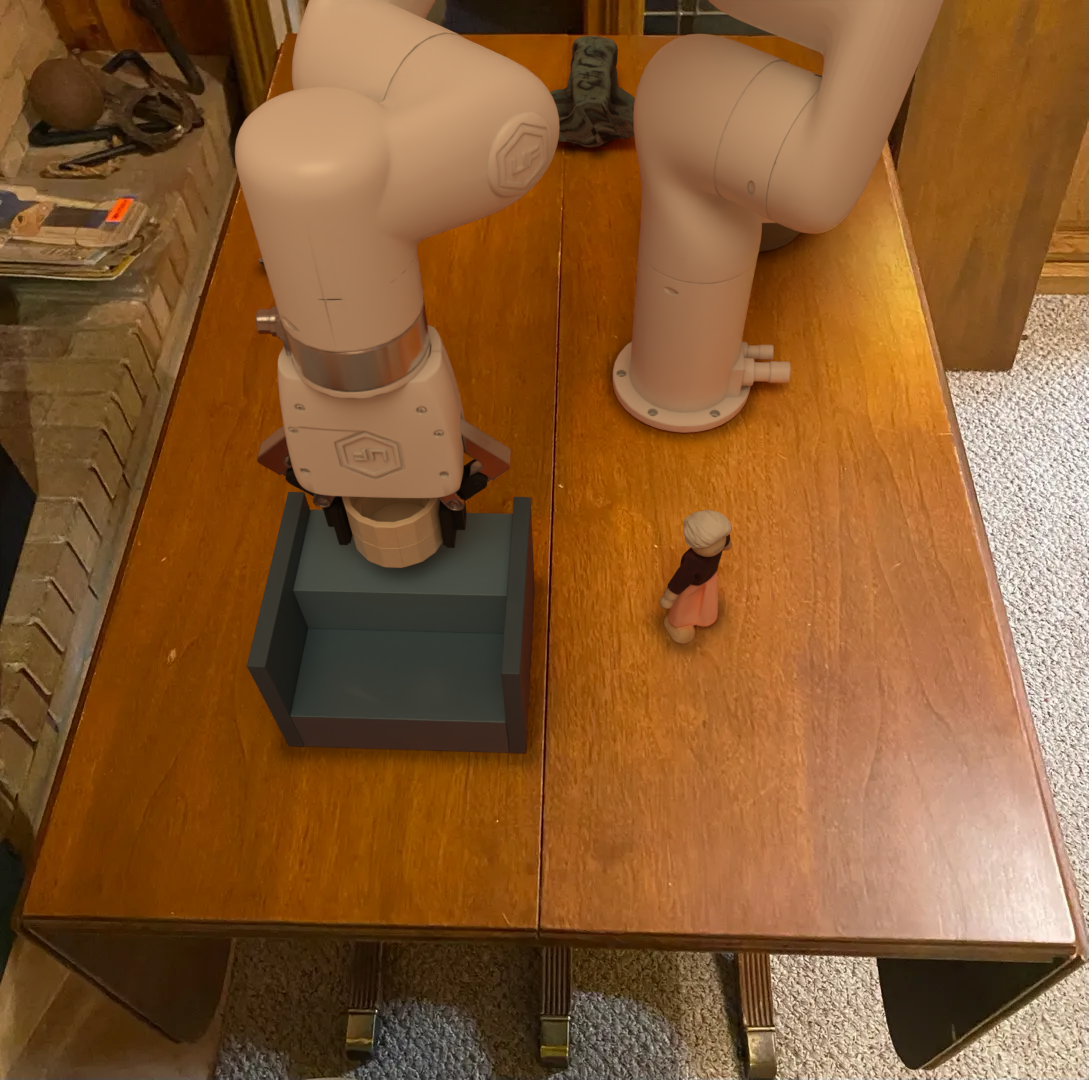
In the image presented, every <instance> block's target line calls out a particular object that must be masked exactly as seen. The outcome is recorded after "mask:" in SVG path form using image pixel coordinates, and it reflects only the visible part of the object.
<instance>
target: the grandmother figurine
mask: <svg viewBox="0 0 1089 1080" xmlns="http://www.w3.org/2000/svg"><path fill="white" fill-rule="evenodd" d="M683 525H684V526H683V527H684V528H683V536H684V542H685V543H686V545H687V546H688V547H689V548H688V549H687V550H686V551H685V552H684V553H683V554H682V556H681V558H680V562H679V567H677V569H676V571H675V572H674V574H673V575H672V577H671V579H670V580H669V582H668V583H667V586H666V588H665V589H664V591H663V595H662V596H661V597H660V599H659V605H660V607H661V608H662V609H664V610H669V611H668V614H667V616H665V617H664V619H663V626H664V628H665V629H666V632H667V633H668V634H669V636H670V638H671V639H672V640H673V641H674V642H675V643H677V644H681V645H685V644H688V643H690V642H692V641H694V639H695V637H696V633H697V631H696V628H695V626H699V627H709V626H711V625H713V624H714V623H715V622H717V619H718V613H719V577H718V575H719V574H718V570H719V564H720V562H721V558H722V554H723V552H729V551H730V550H731V549H732V547H733V541H732V539H731V532H732V524H731V521H730V520H729V519H728V517H727V516H726V515H724V514H722V513H721V512H719V511H716V510H711V509H703V510H699V511H694V512H692V513H691V514H689V515H687V516H686V517H685V518H684V519H683Z"/></svg>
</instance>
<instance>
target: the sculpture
mask: <svg viewBox="0 0 1089 1080" xmlns="http://www.w3.org/2000/svg"><path fill="white" fill-rule="evenodd" d="M571 55H572V56H571V59H570V66H569V67H570V72H569V75H568V79H567V86H566V87H565V88H559V89H554V90H551V92H550V91H549V92H550V94H551V95H552V97H553V99H554V102H555V104H556V107H557V111H558V115H559V127H560V128H559V139H558V142H564V143H565V142H569V143H571V146H573V147H577V148H600V147H606V146H608V145H609V144H610V143H611V142H612V141H613V140H628V139H631V138H635V137H634V120H633V112H634V102H635V96H633V95H632V94H631V93H630V92H629V91H627V90H625V89H624V88H622V87H620V86H619V79H618V78H619V76H618V69H617V64H618V56H619V47H618V44H617V43H616V41H614V40H613V39H611V38H608V37H603V36H600V35H599V36H598V35H583V36H580V37H577V38H576V39H574V41H573V43H572V46H571Z"/></svg>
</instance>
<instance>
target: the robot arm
mask: <svg viewBox="0 0 1089 1080" xmlns="http://www.w3.org/2000/svg"><path fill="white" fill-rule="evenodd" d="M436 1H437V0H308V2H307V6H306V7H305V10H304V14H303V16H302V19H301V22H300V25H299V27H298V31H297V34H296V39H295V44H294V49H293V53H292V61H291V62H292V64H291V82H292V88H293V90H290V91H286V92H284V93H281V94H278V95H276V96H274V97H272V98H270V99H268V100H266V101H265V102H263V103H261V104H260V105H259V106H258V107H257V108H256V109H254V110H253V111H252V112H251V113H249V115H248V116H247V117H246V118H245V119H244V121H243V122H242V125H241V126H240V128H239V130H238V133H237V136H236V139H235V146H234V159H235V160H234V161H235V167H236V171H237V174H238V180H239V183H240V187H241V190H242V194H243V197H244V201H245V204H246V207H247V208H246V209H247V211H248V215H249V218H250V221H251V224H252V228H253V233H254V235H255V238H256V242H257V245H258V249H259V252H260V256H261V258H262V259H263V262H264V266H265V268H264V270H265V272H266V276H267V279H268V283H269V286H270V289H271V293H272V297H273V300H274V304H275V306H270V307H271V308H258V309H257V310H256V315H255V326H256V330H257V333H258V334H259V335H271V336H272V337H274V338H278V339H279V340H280V341H281V342H282V344H283V346H282V348H281V351H280V352H279V355H278V358H277V386H278V397H279V404H280V412H281V418H282V424H283V425H281V427H279V428H278V429H276V430H275V431H274V432H273V433H272V434H270V435H268V436H267V437H266V438H264V440H263V441H262V442H261V443H260V446H259V450H258V452H257V456H256V462H257V463H258V464H259V465H261V466H263V467H265V468H266V469H268V470H270V471H272V472H274V473H275V474H277V475H279V476H281V475H282V476H284V477H285V481H286V482H287V483H288V484H290V485H291V486H293V487H295V488H296V489H299V491H300V490H301V492H304V493H305V494H308V495H309V496H312V504H313V505H314V506H316V507H319V508H321V509H322V510H323V511H324V514H325V517H326V521H327V524H328V526H329V527H334V529H335V532H336V535H337V539H338V542H339V545H348V543H351V539H352V532H351V529H350V525H349V522H348V518H347V514H346V511H345V507H344V504H343V500H342V497H341V496H347V497H380V498H439V499H440V505H439V520H440V526H441V533H442V539H443V545H444V546H446V547H447V548H455V540H456V531H457V530H465V528H466V517H467V513H468V512H467V504H466V503H467V502H466V501H468V500H469V499H471V498H472V497H474V496H475V495H477V494H478V493H480V492H482V491H484V490H485V489H486V488H487V486H488V483H489V482H491V481H494V480H496V479H497V478H499V477H500V476H502V475H503V474H505V473H506V472H508V471H509V470H510V469H511V462H512V450H511V449H510V448H509V447H508V446H507V445H505V444H504V443H502V442H500V441H499V440H497V439H496V438H495V437H492V436H491V435H489V434H488V433H486V432H484V431H483V430H481V429H479V427H476V426H475V425H474V424H472V423H470V422H469V421H468V420H466V419H465V412H464V407H463V403H462V397H461V394H460V389H459V386H458V382H457V378H456V375H455V372H454V369H453V366H452V363H451V360H450V357H449V354H448V352H447V349H446V347H445V345H444V342H443V340H442V338H441V336H440V333H439V332H438V330H437V328H435V326H433V325H430V324H428V318H427V312H426V304H425V297H424V289H423V281H422V275H421V268H420V260H419V252H418V245H419V244H420V242H422V241H424V240H426V239H428V238H430V237H434V236H436V235H439V234H443V233H445V232H447V231H451V230H453V229H456V228H459V227H461V226H465V225H467V224H471V223H473V222H476V221H479V220H482V219H484V218H487V217H489V216H492V215H494V214H496V213H498V212H500V211H502V210H505V209H506V208H508V207H509V206H512V205H513V204H515V203H516V202H518V201H519V200H520V199H522V198H523V197H525V196H526V195H527V194H528V193H529V192H530V191H531V190H532V189H533V188H534V187H535V186H536V185H537V184H538V182H540V180H541V179H542V178H543V177H544V175H545V173H546V172H547V170H548V169H549V167H550V165H551V163H552V161H553V159H554V156H555V154H556V150H557V148H558V143H559V141H558V139H559V128H560V127H559V115H558V111H557V107H556V104H555V102H554V99H553V97H552V95H551V94H550V90H549V88H548V87H547V86H546V85H545V83H544V82H543V81H542V80H541V79H540V78H539V77H538V76H537V75H535V74H534V73H533V72H532V71H531V70H529V69H528V68H527V67H525V66H524V65H522V64H521V63H518V62H517V61H515V60H513V59H511V58H509V57H507V56H505V55H503V54H501V53H498V52H496V51H494V50H492V49H489V48H487V47H485V46H483V45H481V44H478V43H476V42H474V41H472V40H470V39H467V38H465V37H463V36H462V35H461V34H459V33H457V32H455V31H452V30H450V29H448V28H446V27H444V26H441V25H439V24H438V23H435V22H433V21H430V20H428V19H427V17H428V15H429V13H430V12H431V10H432V8H433V6H434V5H435V3H436ZM707 2H709V3H710V4H711V5H713V7H715V8H716V9H717V10H719V11H720V12H722V13H724V14H726V15H727V16H729V17H731V18H733V19H735V20H738V21H740V22H742V23H743V24H744V23H745V24H747V25H750V26H752V27H754V28H756V29H759V30H761V31H764V32H767V33H770V34H772V35H774V36H777V37H779V38H782V39H785V40H788V41H789V42H793V43H795V44H797V45H800V46H803V47H805V48H807V49H810V50H813V51H816V52H818V53H819V54H821V55H822V58H823V68H822V75H821V74H819V73H816V72H813V71H810V70H808V69H805V68H803V67H800V66H797V65H795V64H793V63H790V62H789V61H788V60H785V59H783V58H780V57H777V56H775V55H773V54H770V53H768V52H765V51H763V50H760V49H758V48H755V47H752V46H750V45H748V44H745V43H743V42H740V41H738V40H734V39H731V38H728V37H724V36H720V35H716V34H715V35H714V34H709V33H690V34H686V35H685V34H684V35H682V36H679V37H675V38H674V39H672V40H670V41H669V42H667V43H665V44H664V45H663V46H661V47H660V48H659V49H658V50H657V51H656V52H655V53H654V55H653V56H652V57H651V58H650V60H649V61H648V62H647V64H646V65H645V68H644V70H643V72H642V74H641V75H640V78H639V82H638V84H637V88H636V91H635V96H634V98H635V102H634V112H633V120H634V137H633V138H634V143H635V150H636V156H637V163H638V168H639V176H640V196H641V197H640V201H641V202H640V205H641V206H640V222H639V223H640V224H639V240H638V249H637V250H638V251H637V267H636V281H635V292H634V293H635V294H634V308H633V321H632V322H633V323H632V336H631V341H630V342H628V343H627V344H626V345H624V346H623V348H622V349H621V351H620V352H619V353H618V355H617V357H616V359H615V361H614V364H613V367H612V368H613V369H612V386H613V392H614V395H615V396H616V399H617V401H618V403H620V405H621V406H622V408H623V409H624V410H625V411H626V412H627V413H628V414H630V415H631V416H632V417H633V418H635V419H636V420H638V421H640V422H642V424H645V425H647V426H650V427H653V428H655V429H658V430H662V431H667V432H670V433H671V432H672V433H683V434H684V433H686V434H687V433H698V432H699V433H700V432H704V431H708V430H713V429H715V428H717V427H720V426H722V425H724V424H726V423H727V422H730V421H731V420H732V419H733V418H735V417H736V416H737V415H738V414H739V413H740V412H741V411H742V409H743V408H744V407H745V405H746V403H747V400H748V398H749V395H750V393H751V392H750V391H751V387H752V386H753V385H754V382H762V383H763V382H767V383H768V384H789V382H790V379H791V362H790V361H786V360H785V361H783V360H781V361H780V360H777V361H776V360H773V359H774V354H775V347H774V344H757V345H755V344H753V345H752V344H751V345H750V344H748V342H747V341H743V337H744V330H745V325H746V319H747V315H748V308H749V305H750V298H751V293H752V288H753V283H754V279H755V278H754V277H755V273H756V272H755V271H756V266H757V261H758V257H759V253H760V252H759V247H760V242H761V233H762V217H761V216H763V217H765V218H767V219H769V220H771V221H774V222H776V223H778V224H781V225H783V226H785V227H787V228H790V229H793V230H795V231H799V232H801V233H804V234H809V235H813V234H814V235H815V234H816V235H817V234H823V233H827V232H828V231H831V230H832V229H835V228H836V227H837V226H839V225H840V224H841V223H843V222H844V221H845V219H846V218H847V217H848V216H849V215H850V214H851V213H852V211H854V209H855V207H856V206H857V205H858V202H859V201H860V199H861V197H862V196H863V194H864V193H865V190H866V188H867V186H868V184H869V183H870V180H871V178H872V176H873V173H874V171H875V169H876V166H877V164H878V162H879V161H880V160H879V159H880V158H881V155H882V153H883V150H884V148H885V146H886V143H887V141H888V138H889V136H890V135H891V134H890V133H891V131H892V129H893V126H894V124H895V121H896V119H897V117H898V113H899V112H900V109H901V107H902V104H903V102H904V100H905V97H906V95H907V92H908V90H909V88H910V85H911V83H912V80H913V78H914V75H915V73H916V71H917V68H918V65H919V63H920V61H921V59H922V56H923V54H924V51H925V50H926V46H927V44H928V41H929V39H930V36H931V34H932V32H933V29H934V27H935V25H936V22H937V19H938V16H939V15H940V11H941V8H942V6H943V3H944V0H707ZM755 360H757V361H755ZM763 360H764V361H766V362H763ZM465 454H466V455H467V456H469V457H470V458H472V460H470V461H468V462H467V463H465Z"/></svg>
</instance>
